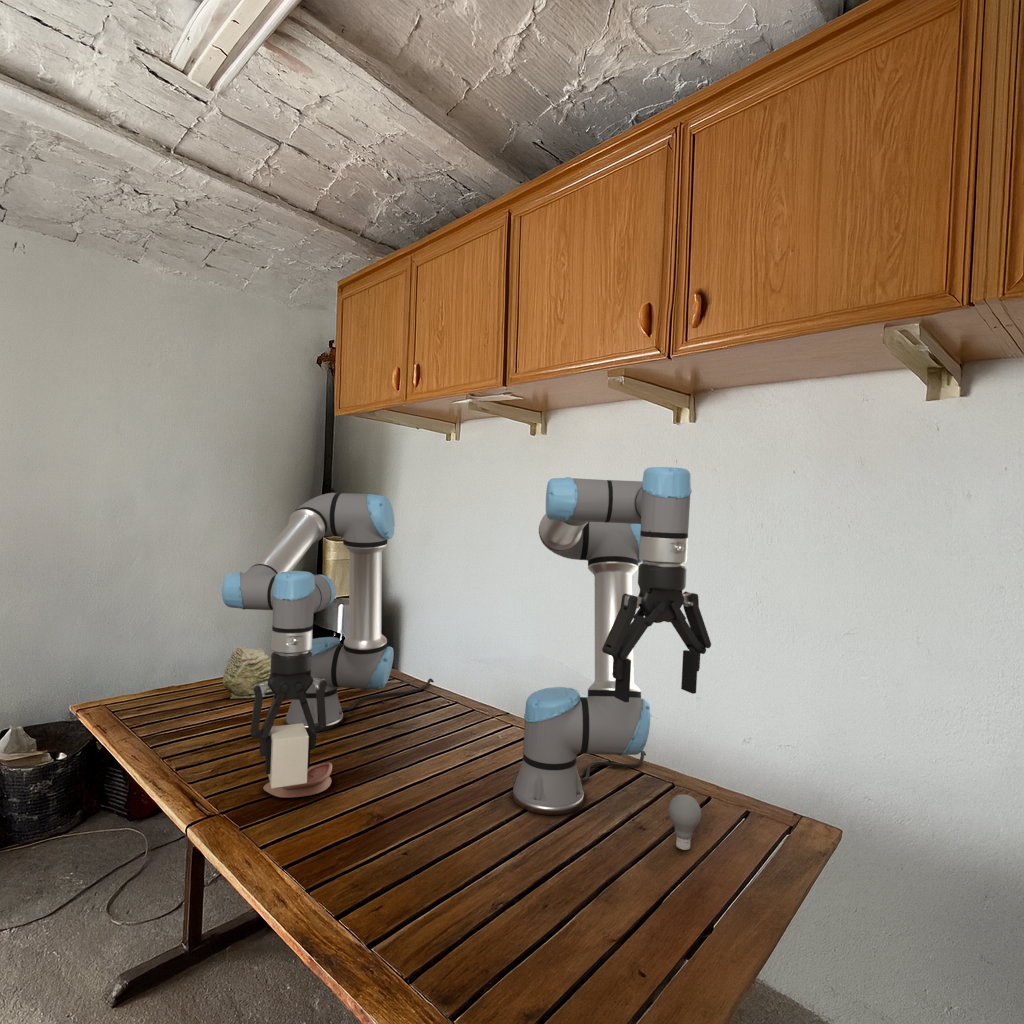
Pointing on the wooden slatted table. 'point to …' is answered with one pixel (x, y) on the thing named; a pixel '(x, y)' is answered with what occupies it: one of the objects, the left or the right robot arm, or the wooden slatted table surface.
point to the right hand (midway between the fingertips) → (656, 695)
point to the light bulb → (684, 818)
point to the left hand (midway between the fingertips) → (287, 768)
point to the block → (288, 755)
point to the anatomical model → (315, 783)
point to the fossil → (247, 672)
